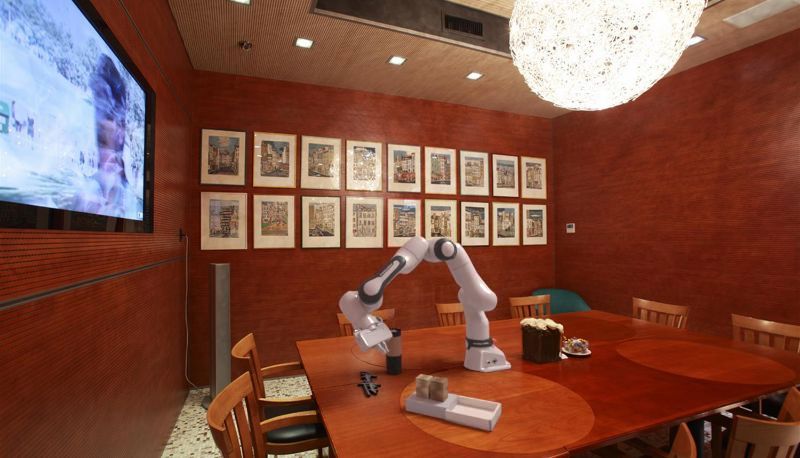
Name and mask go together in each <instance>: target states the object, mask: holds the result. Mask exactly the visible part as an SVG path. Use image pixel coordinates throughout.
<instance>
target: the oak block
mask: <svg viewBox="0 0 800 458" xmlns="http://www.w3.org/2000/svg"><path fill="white" fill-rule="evenodd" d="M433 378H434V376H433V375H428V374H422V373H421V374H419V375H418V376H416V377H415V391H416V397H419V398H424V399H429V398H430V397H431V383H430V381H431V380H432V379H433Z"/></svg>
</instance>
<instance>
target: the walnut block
mask: <svg viewBox="0 0 800 458" xmlns="http://www.w3.org/2000/svg"><path fill="white" fill-rule="evenodd" d="M448 380H449V378H447V377H446V378H445V377H440V376H433V379H432V380H431V381H430V383H431V400H434V401H439V402H444V401H445V400H446V399H447V398H448V393H449V381H448Z"/></svg>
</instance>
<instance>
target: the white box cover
mask: <svg viewBox="0 0 800 458" xmlns="http://www.w3.org/2000/svg"><path fill="white" fill-rule="evenodd" d="M458 396H459V394H456V393H449V392H448V398H447V399H446V400H445V401H444V402H439V401H434V400H431V397H430V398H429V399H424V398H419V397H416V390H415V391H414V392H412V394H410V395H409V396H408V397H407V398H406V399H405V411H407V412H410V413H411V412H412V413H416V414H421V415H425V416H429V417H434V418H438V419H442V420H446V419H445V410H450V411H452V410H453V409H454V408H455V407H456V406H457V404H458Z"/></svg>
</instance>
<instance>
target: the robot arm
mask: <svg viewBox="0 0 800 458" xmlns="http://www.w3.org/2000/svg"><path fill="white" fill-rule="evenodd" d="M422 261H423V262H426V263H439V262H445V263H446V265H447V267H448V269H449V271H450V273H451V275H452V276H453V278H454V280H455V283H456V284H457V285H458V286H459V287H460V289H459V291H458V293H457V298H458V300H459V303H460V304H461V307H462V311H463V314H464V318H465V331H466V333H465V335H466V336H465V342H464V343H465V348H466V351H465V358H464V363H463V366H464V367H465V368H466V369H468V370H471V371H475V372H476V371H477V372H481V373H490V372H498V371H503V370H504V371H505V370H509V369H511V368H512V365H511V363H510V362H509V361H508V360H506V355H505V354H504V352H503V351H502V350H501V349H499V347H497V346H496V345H495V344H496V343H497V339H495V338H492V337H491V336H490V323H489V319H488V318H487V316H486V314H485V312H490V311H493V310H494V309H495V308H496V307H497V304H498V297H497V295H496V293H495V292H494V291H492V290H491V288H489V287H488V285H487V284H486V283H485V281H484V280H483V279H482V278H481V276H480V275H479V274H478V272H477V270H476V269H475V267H474V265H473V263H472V261H471V259H470V257H469V255H468V253H467V252H466V250H465V249H464V247H463V246H462V245H461V243H459V242H454V241H452V239H449V238H446V237H441V238H433V239H430V240H426V238H424V237H423V236H420V235H415V236H413V237H411V238H410V239H408V240H407V241H406V242H405V243H403V245H401V247H400V248H398V250H397V251H396V253H394V254H393V257H391V259H390V260H389V261H388V262H387V263H386V264H385V265H383V267H382V268H381V269H379V270H378V271H377V273H375V274H374V275H373V276H370V277H369V278H367V279H365V280H363V281H362V282H361V283H360V284H359V286H358V288H357V290H355V291H352V290H348V291H346V292H345V293H344V294H343V295H342V296H341V298H340V299H339V301H338V302H339V303H338V305H339V308H340V311H341V312H342V314H343V315H344V317H345V318H346V319H347V320H348V321H349V322H350V324H351V326H352V328H353V329H354V330H353V331H352V332H353V334H352V336H353V337H354V340H355V342H356V345H357V346H358V347H359V350H360V351H362V352H363V353H366V352H368V351H370V350H372V349H375V350H376V351H378V353H380V354H381V355H382V356H386V354H387V353H388V352H389V350H388V349H387V346H386V342H387V341H389V340H390V339H391V338H392V337H393V336H392V333H391V331H390V330H391V329H389V327H388V326H387V324H385V323H384V322H383V318H381V316H380V317H379V316H374V315H372V314H371V313H372V312H376V311H377V310H378V309H380V307H382V304H383V301H384V300H383V299H384V290H385V289H386V287H387V286H388V284H390V282H391V281H392V280H394V278H395V277H396V276H397V275H399V274H403V275H407V274H409V273H411V272H412V271H414V269H416V268H417V266H418V265H419V264H420V263H421V262H422Z"/></svg>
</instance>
